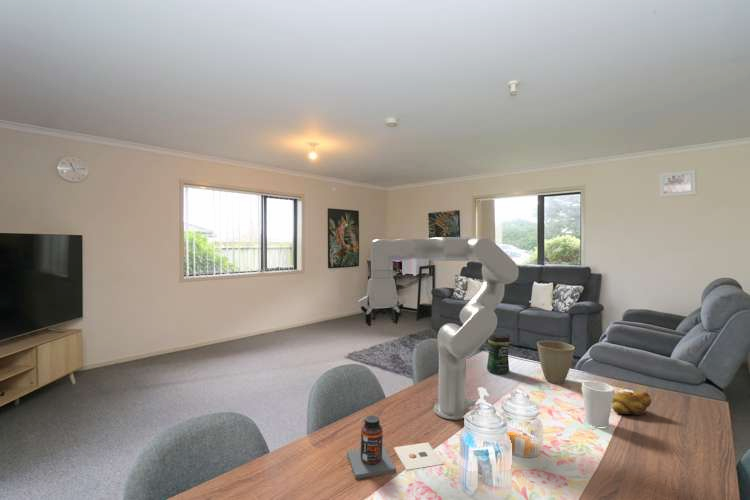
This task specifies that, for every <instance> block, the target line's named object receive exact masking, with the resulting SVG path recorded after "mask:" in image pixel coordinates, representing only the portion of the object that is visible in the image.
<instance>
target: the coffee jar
mask: <svg viewBox="0 0 750 500" xmlns="http://www.w3.org/2000/svg"><path fill="white" fill-rule="evenodd" d="M510 340H511V339H510V334H509V333H508V332H507V333H506V332H503V331H502V332H500V331H499V332H493V334H492V335H491V336H490V337H489V338H488V339H487V342H488V358H487V363H486V364H487V365H486V370H487V371H488V372H489V371H490V372H489V373H491V372H492V373H493V374H496V375H499V374H508V373H509V372H510V364H509V363H510V362H509V346H510Z"/></svg>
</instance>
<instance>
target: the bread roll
mask: <svg viewBox="0 0 750 500" xmlns="http://www.w3.org/2000/svg"><path fill="white" fill-rule="evenodd" d="M651 404H652V397H651V396H650V394H649V392H644V391H638V392H631V391H622V392H615V393H614V397H613V401H612V406H611V409H612V410H613V411H614V412H615V413H617V414H619V413H620V414H619V415H623V414H628V415H633V414H641V415H644V414H645V413H646V411H647V408H648V407H649V406H650V405H651ZM643 413H644V414H643Z"/></svg>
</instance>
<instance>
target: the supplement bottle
mask: <svg viewBox="0 0 750 500" xmlns="http://www.w3.org/2000/svg"><path fill="white" fill-rule="evenodd" d="M360 431H361V432H360V449H361V460H362V461H363V462H364V463H366V464H371V465H372V464H377V463H379V462H380V461H381V460H382V446H383V426H382V425H381V424H380V418H379V417H378V416H377V415H368V416H366V417H365V419H364V423H363V424H362V426H361V430H360Z"/></svg>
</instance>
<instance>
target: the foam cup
mask: <svg viewBox="0 0 750 500" xmlns="http://www.w3.org/2000/svg"><path fill="white" fill-rule="evenodd" d="M581 393H582V399H583V407H584V409H583V410H584V416H585V423H586V422H587V423H588V424H587V423H586V424H587V425H589V424H590V425H592V426H591V427H593V426H595V427H594V428H596V427H606V426H608V427H609V422H610V415H611V410H612V401H613V397H614V394H615V387H614V386H612V385H610V384H608V383H605V382H601V381H597V380H583V381H582V382H581ZM590 425H589V426H590Z"/></svg>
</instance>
